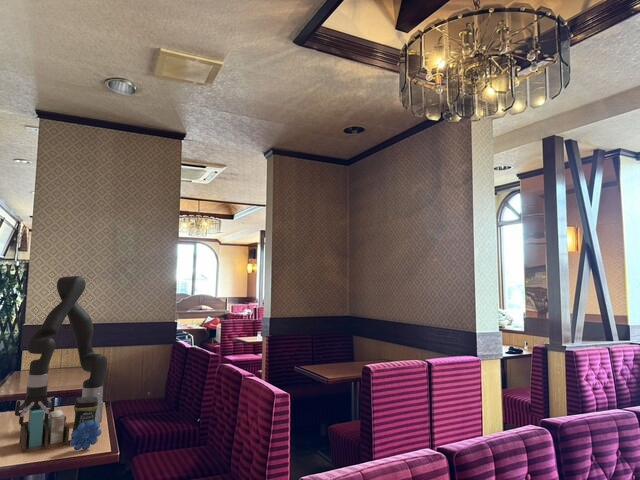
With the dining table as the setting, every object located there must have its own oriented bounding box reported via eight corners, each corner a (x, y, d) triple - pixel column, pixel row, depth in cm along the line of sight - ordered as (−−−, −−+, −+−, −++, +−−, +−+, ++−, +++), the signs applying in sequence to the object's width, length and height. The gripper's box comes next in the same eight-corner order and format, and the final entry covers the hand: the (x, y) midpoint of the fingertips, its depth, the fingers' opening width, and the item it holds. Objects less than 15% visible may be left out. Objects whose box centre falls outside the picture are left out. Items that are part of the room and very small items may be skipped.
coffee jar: (71, 445, 191) (74, 400, 193) (70, 439, 198) (74, 396, 200) (96, 441, 196) (99, 398, 198) (95, 436, 203) (98, 394, 205)
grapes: (99, 444, 193) (101, 415, 194) (100, 449, 187) (102, 420, 188) (68, 448, 187) (71, 419, 188) (69, 454, 181) (71, 423, 182)
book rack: (64, 435, 202) (66, 408, 204) (69, 444, 191) (71, 416, 192) (19, 442, 192) (21, 414, 193) (21, 453, 181) (24, 422, 182)
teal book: (38, 438, 195) (41, 405, 196) (41, 445, 187) (44, 411, 188) (26, 440, 192) (29, 407, 194) (28, 447, 184) (31, 412, 186)
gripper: (18, 388, 184) (13, 429, 182) (57, 384, 193) (54, 423, 191) (16, 384, 190) (12, 424, 188) (55, 381, 199) (51, 419, 197)
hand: (33, 423), depth 190 cm, fingers open, 8 cm apart
